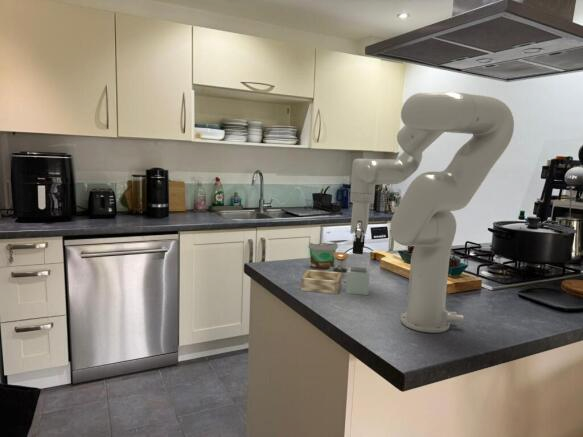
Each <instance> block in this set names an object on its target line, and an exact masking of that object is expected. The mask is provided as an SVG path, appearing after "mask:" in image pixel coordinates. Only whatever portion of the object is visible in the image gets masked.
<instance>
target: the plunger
mask: <svg viewBox="0 0 583 437" xmlns="http://www.w3.org/2000/svg"><path fill="white" fill-rule="evenodd" d="M333 257H334V258H335V259H334V267H335V272H344V273H345V272H346V268H347V259H348V258H350V255H349V253H347V252H340V251H337V252H335V253H333Z"/></svg>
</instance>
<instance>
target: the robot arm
mask: <svg viewBox="0 0 583 437" xmlns="http://www.w3.org/2000/svg"><path fill="white" fill-rule="evenodd" d="M400 119H401V122H402V123H403V125H404V126H403V127H402V128H400V130H399V131H398V132H397V134H396V140H397V144H398V146H399V148H400V149H401V150H402V151H403V152H402V153H401V154H400V155H399V156H398V157H397V158H396V159H393V158H392V159H389V158H387V159H385V158H383V159H382V158H374V159H373V158H355V159H354V160H353V162H352V166H351V167H352V168H351V182H350V195H349V202H350V203H352V210H351V220H350V232H349V233H350V234H352V235H353V234H354V235H353V236H354V238H353V241H352V254H353V255H354V254H355V255H363V254H364V247H365V240H366V239H365V236H366V234H367V229H368V224H369V218H370V217H369V216H370V206H371V205H372V204H374V203H375V194H376V193H375V190H376V185H377V186H378V185H379V186H380V185H398V184H400V183H401V184H402V183H404V182H405V181H406V180H407V179H408V178H410V177H411V176H412V175H413V174H414V173H416V172H417V170H418V169H419V167H420V166H421V165H420V164H421V163H422V159H423V152H425V150H426V149H427V148H429V147H430V146H431V145H432V144H433V143H435V141H436V140H437V139H438V138H440V137H441V136H442V135H443V134H444V133H450V134H451V133H452V134H453V133H454V134H465V135H466V134H468V135H472V137H471V138H470V139H468V141H466V142H465V143H464V144H463V145H461V147H460V148H459V149H458V150H457V151H456V152H455V154H454V156H453V157H452V160H451V161H450V163H449V164H448V165H447V167H446V168H445V169H444V170H441V171H427V172H424V173H420V174H419V175H417V176H416V177H415V178H414V179H413V180H412V181H411V182H410V184H409V185H408V188H407V189H406V191H405V192H404V194H403V196H402V198H401V200H400V202H399V203H398V205H397V207H396V209H395V211H394V213H393V215H392V217H391V221H390V226H389V227H390V228H389V230H390V234H391V236H392V239H393V240H394V241H395V242H396V243H397V244H398V245H402V246H406V247H410V246H411V247H412V246H413V247H414V248H413V250H412V253H411V257H410V266H409V278H408V292H407V293H408V294H407V305H406V306H407V307H406V311H405V312H402V314H400V319H399V320H400V322H401V323H402V325H404V326H405V327H406V328H408V329H412V330H414V331H418V332H422V333H431V334H432V333H443V332H446V331H448V330H449V329H450V326H451V322H456V323H464V320H465V319H464V318H465V317H464V314H457V311H448V310H447V308H446V301H447V300H446V299H447V288H448V277H449V270H450V269H449V267H450V258H451V253H452V246H453V243H454V240H455V236H456V231H457V220H456V217H455V215H454V214H453V213H452V211H453V212H456V211H460V210H462V209H464V208H466V207H467V206H468V205H469V203H470V201H471V200H472V199H473V197H474V196H475V194H476V193H477V191H478V190H479V188H480V187H481V185H482V184H483V182H484V181H485V179H486V177H487V176H488V175H489V173H490V171H491V170H492V168H493V167H494V166H495V164H496V163H497V162H498V160H499V159H500V158H501V157H502V156H503V154H504V153H505V151H506V149H507V148H508V146H509V145H510V142H511V141H512V138H513V134H514V132H515V131H514V129H515V122H514V121H515V120H514V116H513V113H512V111H511V109H510V107H509V106H508V105H507V104H506V103H505V102H503V101H502V100H500V99H498V98H495V97H492V96H486V95H480V94H478V95H477V94H472V93H464V92H455V91H454V92H450V91H449V92H418V93H414V94H412V95H411V96H409V97H408V98H407V99H406V101H405V102H404V103H403V105H402V106H401V111H400Z"/></svg>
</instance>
